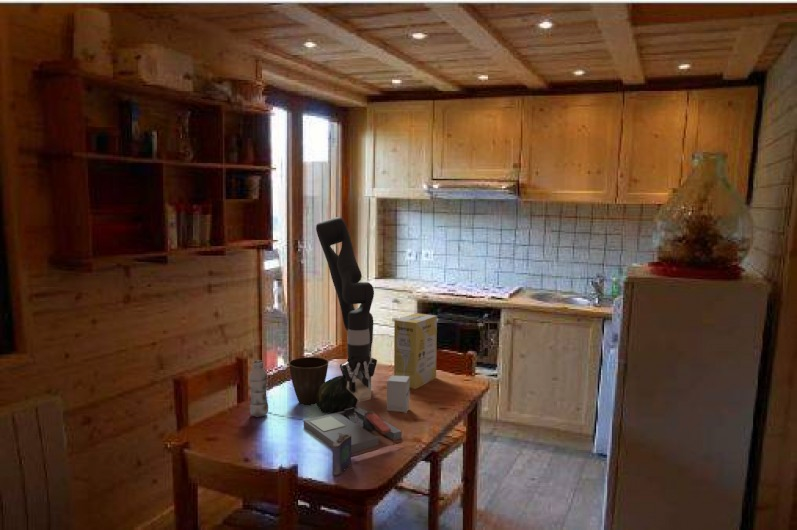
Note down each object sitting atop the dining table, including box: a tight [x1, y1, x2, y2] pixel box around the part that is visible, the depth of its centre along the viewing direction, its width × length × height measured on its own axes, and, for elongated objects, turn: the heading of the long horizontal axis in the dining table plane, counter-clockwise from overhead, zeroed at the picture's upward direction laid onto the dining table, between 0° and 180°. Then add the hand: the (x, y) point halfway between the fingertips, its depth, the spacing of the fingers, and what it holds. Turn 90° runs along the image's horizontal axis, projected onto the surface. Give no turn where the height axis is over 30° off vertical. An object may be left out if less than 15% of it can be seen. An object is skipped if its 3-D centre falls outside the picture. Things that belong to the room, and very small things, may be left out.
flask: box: [331, 433, 352, 477], centre depth 163 cm, size 9×3×11 cm, turn 158°
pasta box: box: [393, 312, 438, 390], centre depth 244 cm, size 18×10×28 cm, turn 148°
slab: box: [347, 378, 372, 403], centre depth 191 cm, size 9×4×3 cm, turn 36°
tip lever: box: [344, 407, 391, 435], centre depth 188 cm, size 23×6×8 cm, turn 35°
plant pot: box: [288, 356, 329, 407], centre depth 217 cm, size 15×15×16 cm
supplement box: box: [386, 374, 410, 414], centre depth 209 cm, size 7×7×13 cm
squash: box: [315, 375, 358, 414], centre depth 207 cm, size 14×15×15 cm
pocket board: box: [303, 406, 403, 458], centre depth 186 cm, size 26×22×4 cm
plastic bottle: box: [248, 359, 269, 418], centre depth 203 cm, size 6×7×20 cm
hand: (359, 390), depth 191 cm, fingers closed on slab, 4 cm apart
